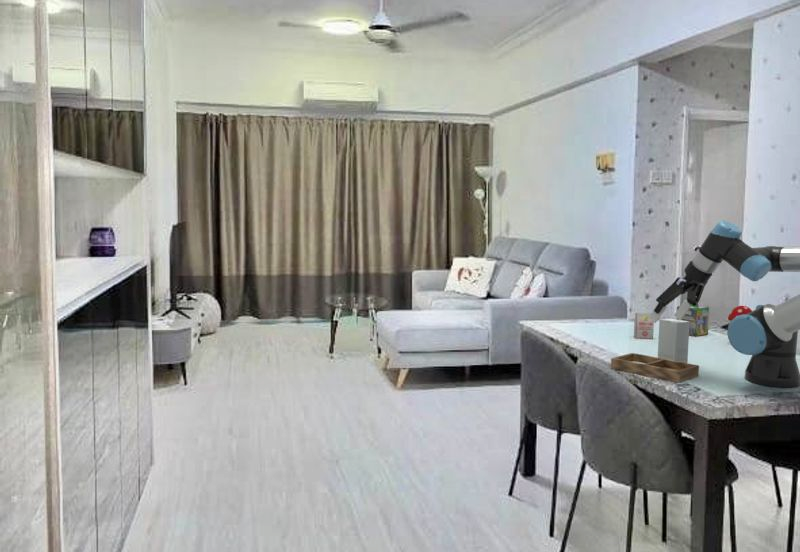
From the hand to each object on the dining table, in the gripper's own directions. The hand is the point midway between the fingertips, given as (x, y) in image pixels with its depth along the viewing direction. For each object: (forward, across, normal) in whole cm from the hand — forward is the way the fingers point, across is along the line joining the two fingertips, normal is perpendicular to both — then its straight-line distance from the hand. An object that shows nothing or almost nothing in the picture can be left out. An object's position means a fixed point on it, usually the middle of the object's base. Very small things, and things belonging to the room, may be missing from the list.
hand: (664, 319), depth 228 cm
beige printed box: (+32, -39, -21) cm, 55 cm away
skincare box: (+15, -9, +7) cm, 19 cm away
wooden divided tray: (+14, +5, +10) cm, 18 cm away
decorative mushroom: (+16, -60, +2) cm, 62 cm away
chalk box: (+28, -64, -17) cm, 72 cm away
